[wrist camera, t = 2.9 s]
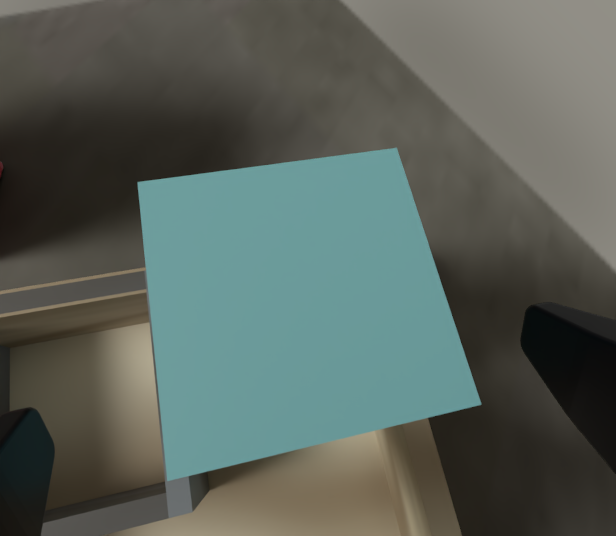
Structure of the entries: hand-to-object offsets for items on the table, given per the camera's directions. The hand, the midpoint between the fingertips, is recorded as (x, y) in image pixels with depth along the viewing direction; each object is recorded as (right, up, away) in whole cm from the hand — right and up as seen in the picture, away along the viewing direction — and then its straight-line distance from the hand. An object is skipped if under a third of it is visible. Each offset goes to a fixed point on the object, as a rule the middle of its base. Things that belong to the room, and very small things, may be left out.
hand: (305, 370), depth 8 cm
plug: (-1, -2, +8) cm, 8 cm away
